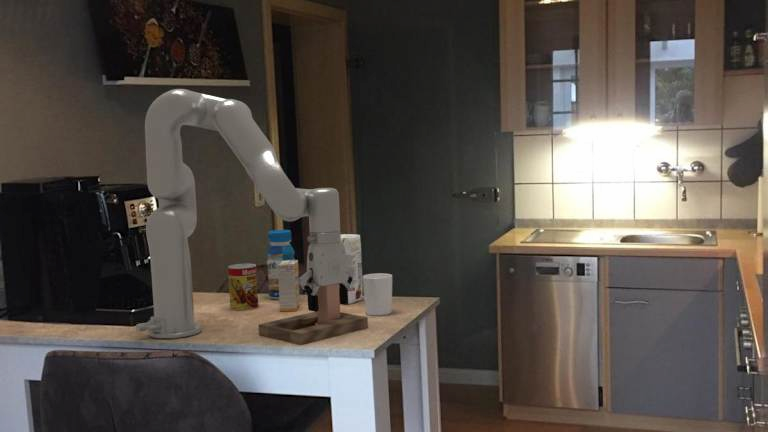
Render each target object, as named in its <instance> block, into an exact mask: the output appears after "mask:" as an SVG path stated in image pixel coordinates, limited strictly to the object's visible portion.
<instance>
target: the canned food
mask: <svg viewBox="0 0 768 432" xmlns="http://www.w3.org/2000/svg"><path fill="white" fill-rule="evenodd" d="M227 271H228V272H227V275H228V294H229V307H230V310H232V311H236V310H240V312H241V310H244V311H252V310H255V309H256V310H257V309H258V308H259V296H258V295H259V294H258V275H257V264H255V263H237V264H236V263H235V264H231V265H228V266H227ZM251 309H252V310H251Z"/></svg>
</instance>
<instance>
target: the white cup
mask: <svg viewBox="0 0 768 432" xmlns="http://www.w3.org/2000/svg"><path fill="white" fill-rule="evenodd" d="M362 282H363V298H364V304H365V314H366V315H369V316H385V315H389V314H390V315H391V314H392V303H393V274H390V273H385V272H384V273H379V272H378V273H368V274H364V275H362Z"/></svg>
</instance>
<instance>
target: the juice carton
mask: <svg viewBox="0 0 768 432" xmlns="http://www.w3.org/2000/svg"><path fill="white" fill-rule="evenodd" d="M341 242H342V243H343V244H344V247H345V251H346V256H347V263H348V267H350V268H352V269H354V270H355V272H354V275H353V277H352V278H353V280H352V282H351V283H350V288H349V289H348V305H351V304H354V303H357V302H360V301H363V298H364V289H363V264H362V262H363V261H362V241H361V235H360V234H354V233H353V234H352V233H349V234H348V233H347V234H345V233H344V234H343V233H341ZM339 288H340V287H339Z"/></svg>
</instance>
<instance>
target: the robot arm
mask: <svg viewBox="0 0 768 432" xmlns="http://www.w3.org/2000/svg"><path fill="white" fill-rule="evenodd" d="M182 126H191V127H195V128H201V129H207V130H212V131H216V132H218V133H219V135H221V137H222V138H223V139H224V140H225V142H226V143H227V145H228V146H229V148H230V150H231V151H232V152H233V153H234V155H235V156H236V158H237V159H238V160H239V162H240V163H241V165H242V166H243V167H244V169H245V171H246V173H247V175H248V176H249V178H251V181H252V183H253V184H254V185H255V188H256V189H257V190H258V192H259V193H260V195H261V196H262V198H263V199H264V201H265V202H266V203H267V205H268V206H269V207H270V209H271V210H272V211H273V213H274V214H275V215H276V217H278V218H279V219H281V220H283V221H285V222H294V221H298V220H299V219H300V218H305V217H308V221H309V222H308V223H309V224H308V225H309V235H308V236H307V238H306V240H307V242H309V244H310V245H308V248H307V257H306V271H305V273H303V274H302V275H300V277H299V279H298V282H299V287H301V290H302V291H303V292H304V294H305V295H307V307H308V308H307V310H308V311H309V312H310V311H311V312H317V311H318V310H319V308H318V295H316V293H317V291H318V289H319V287H325V286H331V285H336V284H339V287H340V288H339V297H340V305H343V306H348V305H349V304H348V289H349V288H350V283H351V282H352V280H353V278H352V277H353V275H354V272H355V270H354V269H352V268H350V267H348V263H347V256H346V251H345V247H344V244H343V243H342V242H341V235H342V233H341V219H340V218H341V216H340V215H341V214H340V196H339V195H340V194H339V191H338V190H337V188H333V187H318V188H311V189H310V188H309V189H307V188H299V187H295V186H294V185H293V183H292V181H291V180H290V179H289V178H288V176H287V174H286V173H285V172H284V170H283V168H282V166H281V164H280V163H279V161H278V157H277V153H276V150H275V148H274V146H273V145H272V144H271V142H270V140H268V138H267V137H266V135H265V134H264V132H263V131H262V130H261V128H260V127H259V126H258V124H257V123H256V121H255V120H254V118H253V115H252V111H251V109H250V107H248V105H247V104H246V103H244V102H243V101H240V100H237V99H233V98H224V97H223V98H222V97H219V96H215V95H209V94H206V93H201V92H197V91H192V90H190V89H185V88H174V89H171V90H168V91H166V92H164V93H162V94H161V95H159V96H158V97H156V99H154V100H153V102H152V103H151V104H150V106H149V108H148V109H147V112H146V114H145V120H144V137H145V138H144V139H145V162H146V183H147V187H148V188H147V189H148V191H149V192H150V194H151V196H153V197H154V198H155V199H158V208H155V209H154V210H153V211H152V213H151V214H150V215H149V216H148V218H147V221H146V224H145V234H146V240H147V244H148V245H147V246H148V251H149V258H150V273H151V286H152V300H153V303H152V304H153V314H154V315H153V316H150V318H149V320H148V321H147V322H142V323H137V324H136V325H135V329H136V332H137V333H139V332H140V333H141V332H145V331H147V332H148V336H149V337H151V338H155V339H162V340H163V339H164V340H165V339H179V338H186V337H190V336H194V335H196V334H199V333H201V332H202V325H200V324H198V323H195V312H194V311H195V309H194V295H193V293H194V292H193V277H192V276H193V275H192V265H191V264H192V263H191V262H192V261H191V252H190V246H189V242H188V241H189V240H188V238H189V237H190V236H191V235H193V233H194V232H195V230H196V226H197V220H198V216H197V215H198V214H197V200H196V199H197V198H196V196H197V195H196V181H195V177H194V174H193V171H192V170H191V168H190V166H188V165H187V164H186V163H185V162H184V161H183V160H184V159H183V145H182V137H181V128H182Z"/></svg>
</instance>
